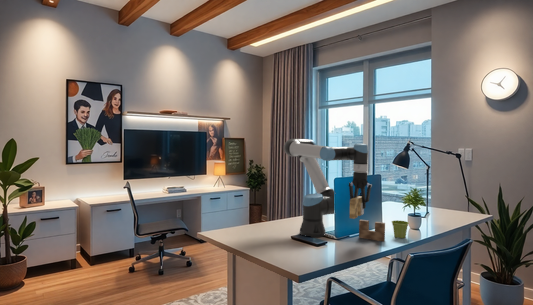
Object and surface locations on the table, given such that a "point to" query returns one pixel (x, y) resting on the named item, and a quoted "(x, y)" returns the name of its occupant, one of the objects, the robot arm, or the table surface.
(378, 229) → the wooden u-shaped block
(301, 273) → the table surface
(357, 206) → the oak board
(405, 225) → the plant pot
